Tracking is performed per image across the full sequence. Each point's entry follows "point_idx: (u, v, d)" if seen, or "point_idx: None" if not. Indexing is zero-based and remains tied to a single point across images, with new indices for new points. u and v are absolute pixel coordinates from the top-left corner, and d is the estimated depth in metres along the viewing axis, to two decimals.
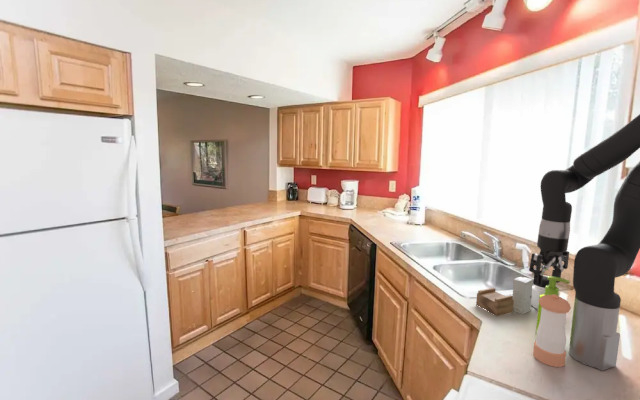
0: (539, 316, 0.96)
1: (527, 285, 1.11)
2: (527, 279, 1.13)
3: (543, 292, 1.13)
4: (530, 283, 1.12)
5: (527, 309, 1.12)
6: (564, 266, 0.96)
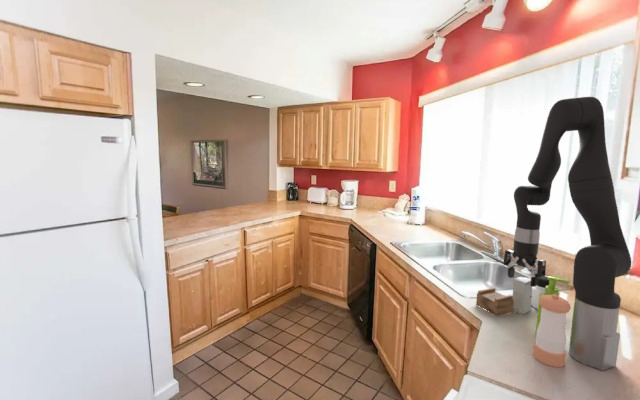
0: (539, 316, 0.96)
1: (527, 285, 1.11)
2: (527, 279, 1.13)
3: (543, 292, 1.13)
4: (530, 283, 1.12)
5: (527, 309, 1.12)
6: (510, 262, 1.18)
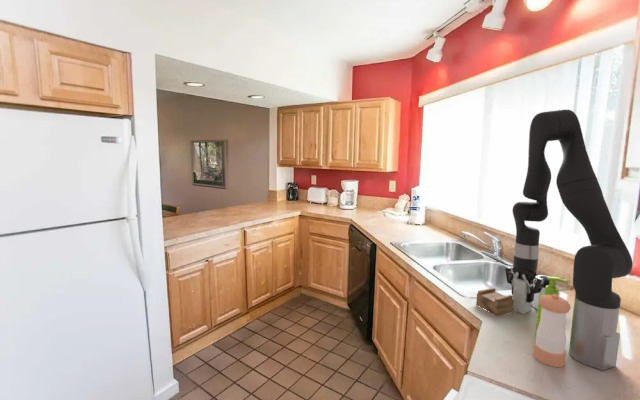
0: (539, 316, 0.96)
1: None
2: None
3: (543, 292, 1.13)
4: None
5: (527, 309, 1.12)
6: (513, 280, 1.17)
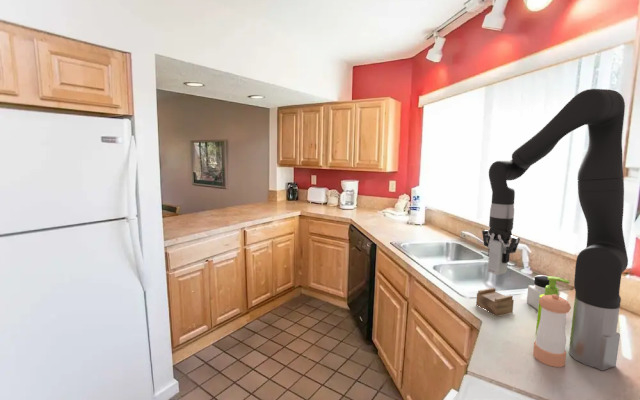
0: (539, 316, 0.96)
1: None
2: None
3: (543, 292, 1.13)
4: None
5: (502, 270, 1.11)
6: None
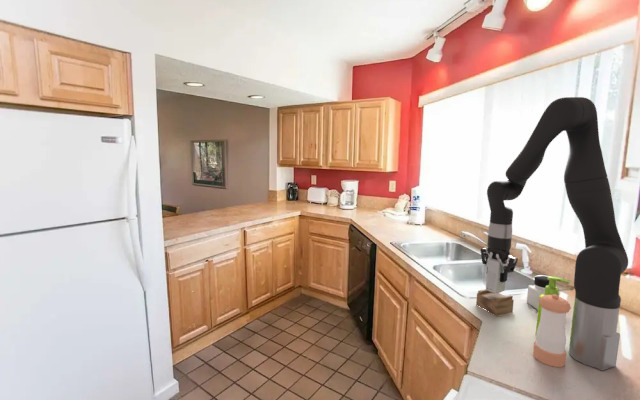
0: (539, 316, 0.96)
1: None
2: None
3: (543, 292, 1.13)
4: None
5: (500, 289, 1.12)
6: None
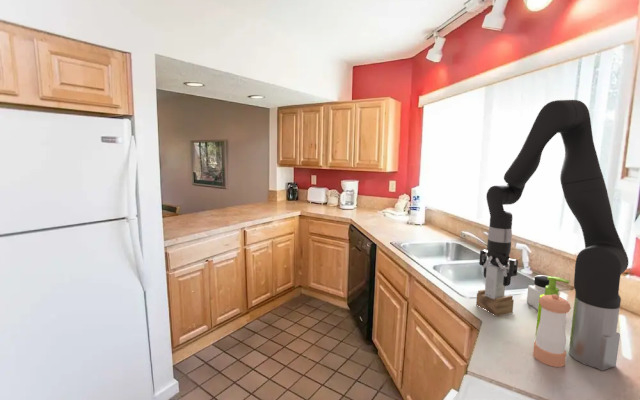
0: (539, 316, 0.96)
1: (499, 272, 1.11)
2: None
3: (543, 292, 1.13)
4: None
5: (499, 295, 1.12)
6: None
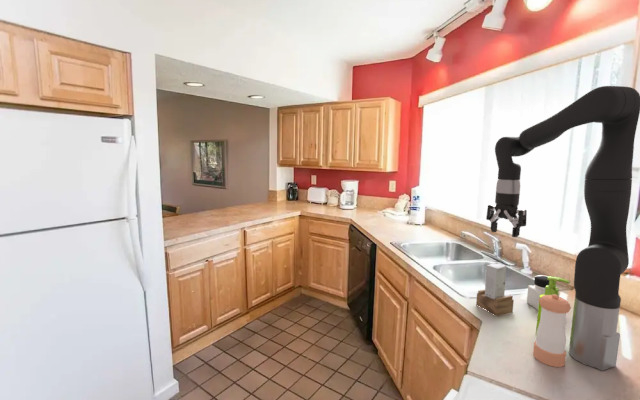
0: (539, 316, 0.96)
1: (499, 272, 1.11)
2: (500, 265, 1.13)
3: (543, 292, 1.13)
4: (503, 269, 1.12)
5: (499, 295, 1.12)
6: None
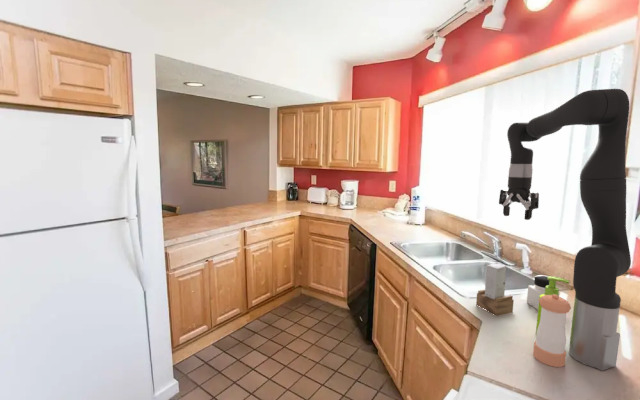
0: (539, 316, 0.96)
1: (499, 272, 1.11)
2: (500, 265, 1.13)
3: (543, 292, 1.13)
4: (503, 269, 1.12)
5: (499, 295, 1.12)
6: (505, 202, 1.23)
